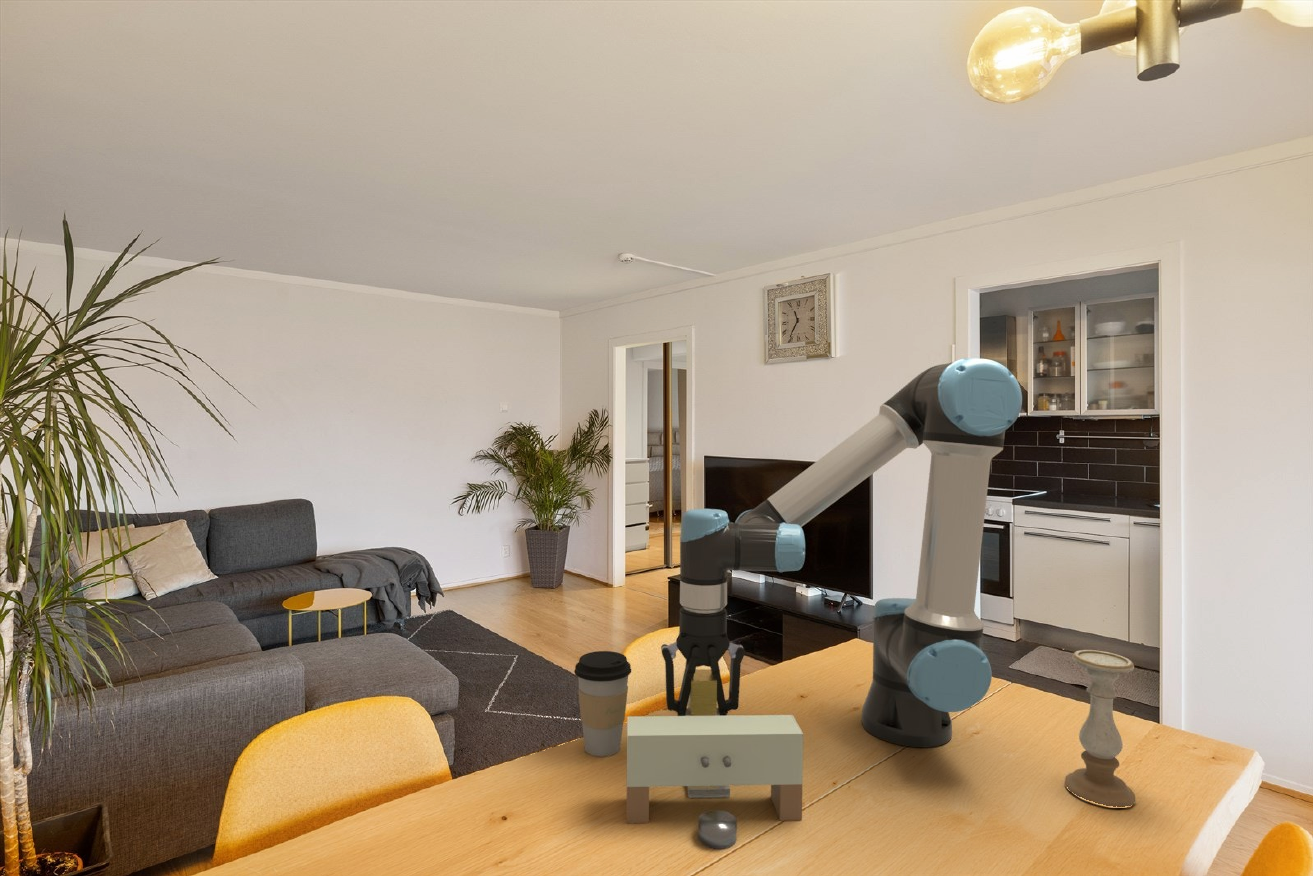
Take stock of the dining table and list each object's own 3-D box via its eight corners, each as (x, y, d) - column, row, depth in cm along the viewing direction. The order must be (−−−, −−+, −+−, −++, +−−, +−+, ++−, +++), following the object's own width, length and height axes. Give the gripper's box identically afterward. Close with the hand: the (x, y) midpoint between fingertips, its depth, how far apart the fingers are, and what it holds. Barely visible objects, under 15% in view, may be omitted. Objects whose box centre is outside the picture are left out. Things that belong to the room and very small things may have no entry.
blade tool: (717, 754, 112) (718, 669, 112) (730, 797, 100) (731, 702, 99) (681, 754, 112) (682, 669, 112) (688, 798, 99) (689, 702, 99)
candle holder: (1124, 784, 104) (1127, 652, 104) (1144, 815, 96) (1148, 671, 95) (1058, 774, 107) (1061, 645, 107) (1072, 803, 99) (1076, 664, 98)
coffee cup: (622, 765, 109) (623, 671, 108) (565, 758, 110) (566, 666, 110) (636, 738, 118) (637, 651, 117) (583, 732, 120) (584, 647, 119)
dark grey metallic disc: (734, 828, 92) (735, 810, 92) (738, 851, 87) (738, 832, 87) (697, 827, 92) (698, 809, 92) (698, 850, 87) (698, 831, 87)
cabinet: (791, 796, 100) (792, 715, 100) (803, 824, 93) (805, 737, 93) (626, 799, 99) (627, 716, 98) (626, 827, 92) (627, 739, 92)
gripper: (751, 600, 113) (749, 740, 114) (648, 600, 113) (647, 741, 113) (760, 613, 106) (758, 762, 106) (650, 613, 105) (649, 764, 106)
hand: (701, 751), depth 110 cm, fingers closed on blade tool, 4 cm apart
